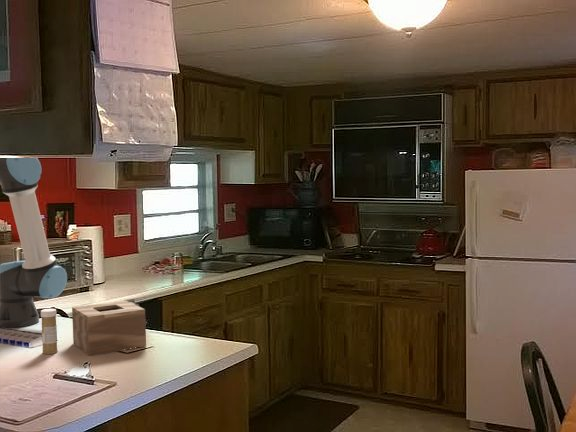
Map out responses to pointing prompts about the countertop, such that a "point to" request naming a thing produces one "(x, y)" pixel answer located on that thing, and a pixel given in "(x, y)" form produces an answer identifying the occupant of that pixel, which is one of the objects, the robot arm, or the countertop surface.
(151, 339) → the countertop surface
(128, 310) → the walnut drop box
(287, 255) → the countertop surface
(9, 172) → the robot arm
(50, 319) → the sprinkles bottle
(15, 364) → the countertop surface
